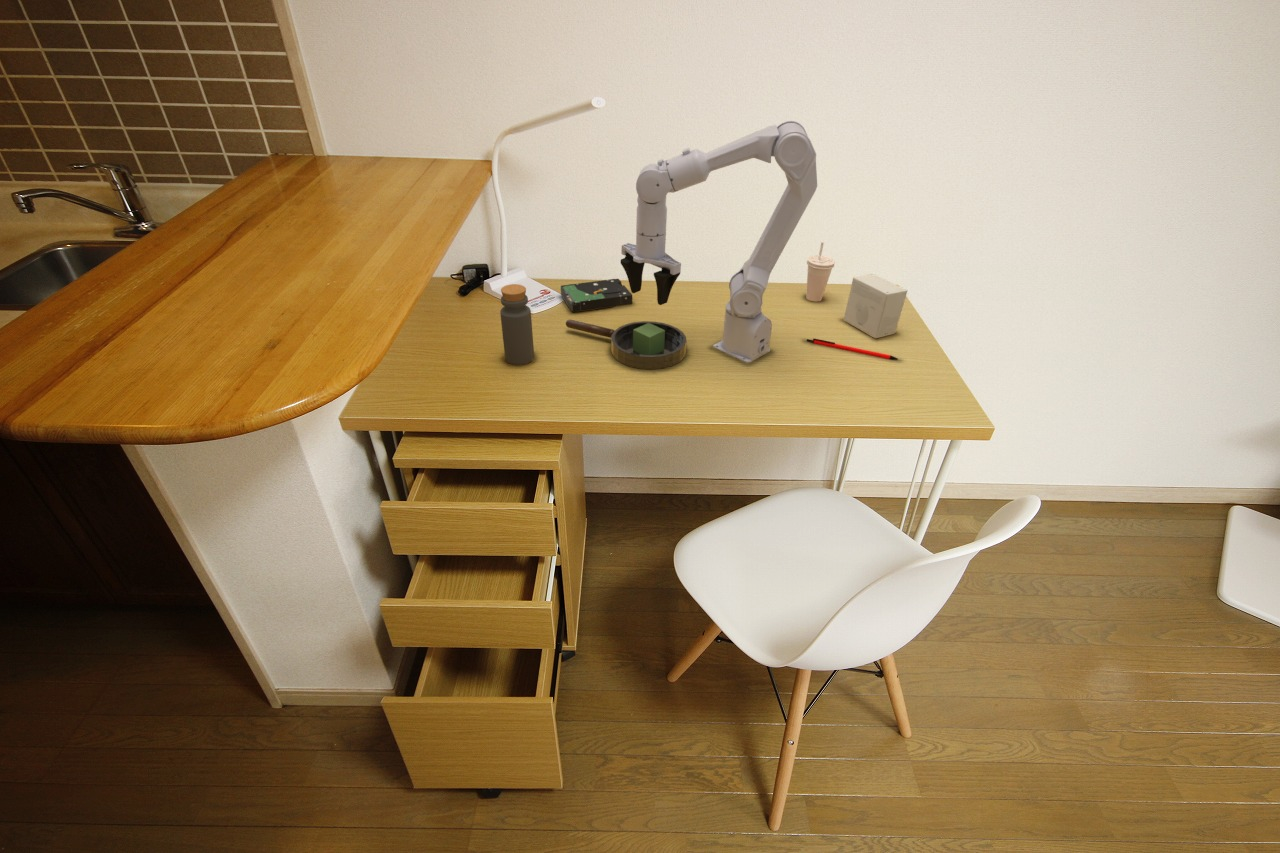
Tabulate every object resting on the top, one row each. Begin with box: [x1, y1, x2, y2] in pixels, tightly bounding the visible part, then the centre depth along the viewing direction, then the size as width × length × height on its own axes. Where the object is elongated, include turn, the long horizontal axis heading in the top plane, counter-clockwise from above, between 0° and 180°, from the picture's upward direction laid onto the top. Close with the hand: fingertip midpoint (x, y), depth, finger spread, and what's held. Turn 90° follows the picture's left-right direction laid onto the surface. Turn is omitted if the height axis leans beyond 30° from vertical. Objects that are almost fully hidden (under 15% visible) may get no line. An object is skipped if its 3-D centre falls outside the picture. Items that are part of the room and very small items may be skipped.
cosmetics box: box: [843, 273, 908, 339], centre depth 145 cm, size 10×6×10 cm, turn 28°
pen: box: [806, 338, 899, 361], centre depth 139 cm, size 1×19×1 cm, turn 66°
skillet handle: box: [565, 319, 615, 339], centre depth 140 cm, size 12×2×2 cm, turn 65°
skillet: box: [610, 320, 687, 370], centre depth 136 cm, size 15×15×3 cm
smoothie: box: [805, 241, 836, 303], centre depth 156 cm, size 6×6×14 cm
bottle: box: [499, 283, 535, 366], centre depth 129 cm, size 6×6×15 cm
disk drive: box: [560, 278, 633, 313], centre depth 156 cm, size 10×3×15 cm
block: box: [633, 323, 665, 355], centre depth 135 cm, size 5×5×5 cm
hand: (649, 297), depth 134 cm, fingers open, 7 cm apart
